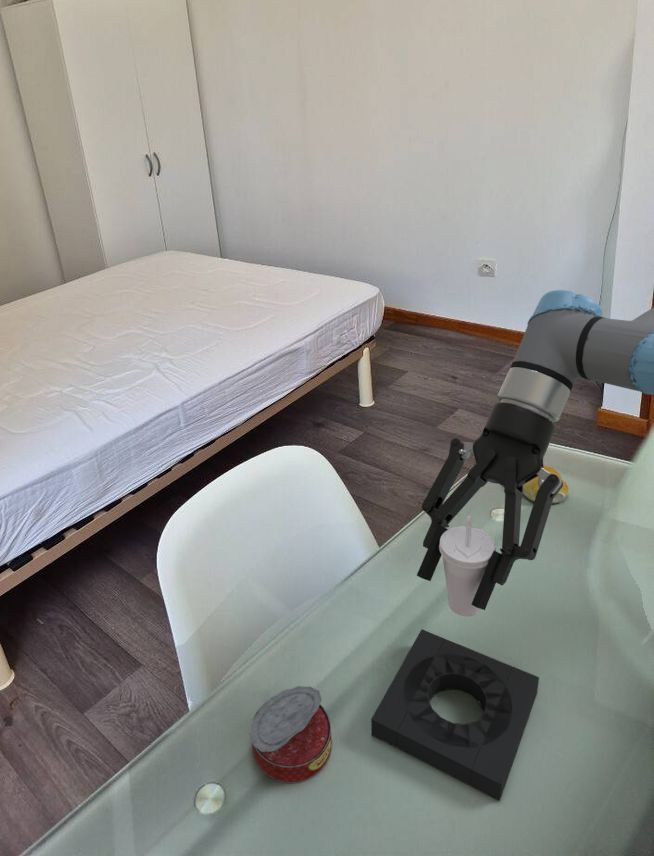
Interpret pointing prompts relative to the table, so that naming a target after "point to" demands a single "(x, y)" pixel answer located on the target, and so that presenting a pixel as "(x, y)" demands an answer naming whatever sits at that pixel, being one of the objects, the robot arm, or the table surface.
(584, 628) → the table surface
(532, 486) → the bread roll
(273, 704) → the canned food
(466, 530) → the smoothie
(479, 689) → the socket pad
